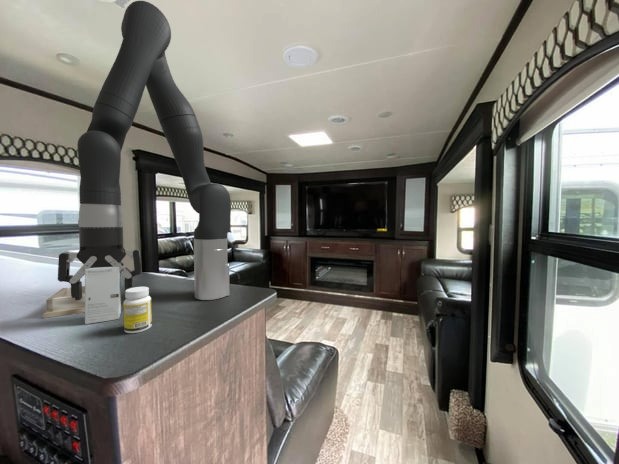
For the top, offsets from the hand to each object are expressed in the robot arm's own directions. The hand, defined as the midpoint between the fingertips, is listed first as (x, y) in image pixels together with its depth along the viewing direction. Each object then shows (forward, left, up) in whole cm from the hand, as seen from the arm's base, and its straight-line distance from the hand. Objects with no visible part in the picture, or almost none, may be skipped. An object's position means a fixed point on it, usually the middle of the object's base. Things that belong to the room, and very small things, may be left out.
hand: (103, 296), depth 56 cm
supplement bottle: (-7, +10, -5) cm, 13 cm away
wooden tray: (+6, -13, -5) cm, 15 cm away
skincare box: (0, 0, -5) cm, 5 cm away
